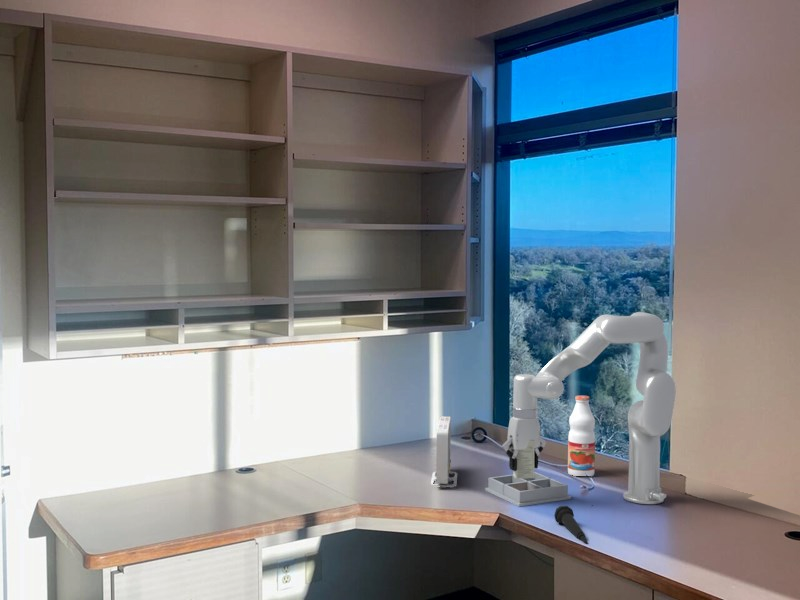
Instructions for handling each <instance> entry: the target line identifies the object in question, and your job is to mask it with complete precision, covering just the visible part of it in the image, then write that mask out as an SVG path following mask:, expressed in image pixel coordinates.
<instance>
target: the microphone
mask: <svg viewBox="0 0 800 600" xmlns="http://www.w3.org/2000/svg"><path fill="white" fill-rule="evenodd" d="M573 511H574V510H573V509H572V508H571V507H569V506H568V505H560V506H558V507H557V508H556V509H555V511H554V515H553V516H554V520H555V522H556V523H558V524H559V525H564V526H565V527H566V529H567V530H568V531H570V532H571V533H572V534H573V535H574V536H575V538H577V539H578V540H579V541H582V542H583V543H584V544H588V540H587V538H586V534H585V532H584V531H583V530H582V527H580V525H579V523H578V522H577V521H576V519H575V518H574V516H575V515H574V512H573Z"/></svg>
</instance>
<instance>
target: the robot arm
mask: <svg viewBox="0 0 800 600" xmlns="http://www.w3.org/2000/svg"><path fill="white" fill-rule="evenodd" d="M664 331H665V324H664V322H663V320H662V319H661V317H659V316H658V315H655V314H653V313H648V312H643V311H637V312H636V311H635V312H634V313H632V314H630V315H613V314H606V313H605V314H601V315H599V316H597V317H596V319H594V320H593V321H592V323H591V324H589V326H587V327H586V328H585V329H584V331H583V332H581V334H579V336H578V337H577V338H576V339H575V340H573V342H572V343H571V344H570V345H569V346H567V347H565V348H564V349H563V350H562V351H561V352H559V353H558V354H556V355H555V356H554V357H553V358H552V359H551V360H549V361H548V363H547V364H546V365H544V367H543V368H541V370H540V371H539V372H538V373H537V374H536V375H533V374H529V373H524V374H523V373H521V374H520V373H519V374H516V375H515V376H514V378H513V390H512V391H513V393H512V394H513V397H512V401H513V402H512V405H513V406H512V417H510V420H509V423H508V427H507V437H506V438H507V440H506V441H504V442H503V444H502V445H501V448H502V450H503V451H504V453H505V454H506V456H508V458H509V465H508V467H509V469H510V470H511V471H517V458H516V455H517V453H518V451H519V450H524V449H526V448H527V446H528V443H529V441H531V440H534V469H538V468H539V466H538V465H539V457H540V456H541V453H542V451H543V450H544V448H545V446H546V445H547V441H546V440H544V438H543V437H541V427H540V426H541V425H540V420H539V417H538V414H539V413H540V411H541V410H540V409H539V408H538V399H545V400H556V399H558V398H560V397H561V396H562V395H563V393H564V389H565V387H564V383H563V382H562V381H564V379H566V378H567V377H568V376H569V375H570V374H572V373H573V372H575V371H576V370H578V369H582V368H584V367H587V366H588V365H590V364H591V363H592V362H594V361H595V359H597V358H598V356H599V355H600V354H602V352H603V351H604V350H605V349H606V348H607V347H608V346H609V345H610V344H635V343H636V344H639V348H640V349H639V352H640V353H639V361H638V368H637V373H636V379H635V387H636V390H637V391H638V393H640V394H641V395H642V396H643V400H642V399H641V400H638V401H635V402H634V403H632V404H631V406H630V407H629V409H628V412H627V425H628V427H627V428H628V432H629V433H628V435H629V436H628V438H629V441H628V442H629V443H628V444H629V445H628V446H629V450H628V487H627V488H628V489H627V491H624V492H623V495H622V497H623V499H624V500H626V501H628V502H631V503H635V504H641V505H656V504H661V503H663V502H665V499H666V498H667V494H666V493H663V492H662V487H660V475H661V473H660V468H661V467H660V465H661V461H660V460H661V436H664V435H665V434H666V433H667V432H668V431H669V429H670V428H671V424H672V420H673V419H672V418H673V415H674V414H673V413H674V406H675V401H676V391H677V390H676V389H677V387H676V382H675V381H674V378H673V377H672V376H671V375H670V374H669V373H667V368H668V357H669V345H668V341H667V337H666V335H665V333H664ZM509 448H510V449H509Z"/></svg>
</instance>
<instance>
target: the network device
mask: <svg viewBox="0 0 800 600" xmlns="http://www.w3.org/2000/svg"><path fill="white" fill-rule="evenodd" d="M451 423H452V421H451V416H443V415H442V416H440V417H439V420H438V424H437V428H436V465H435V466H436V471H433V472H432V474H431V480H430V486H431V485H433V486H440V487H439V488H446V487H450V488H454V486H455V487H457V482H458V481H457V480H458V472H456V471H451V470H450V469H451V463H452V459H451V439H452V438H451V436H452V435H451V431H452V430H451V426H452V424H451ZM449 473H450V474H449ZM454 474H455V475H454ZM450 475H453V477H452V476H451V477H450ZM434 480H436V481H434ZM452 481H454V482H453V484H449V482H452ZM435 482H436V483H435ZM433 483H434V484H433ZM433 486H432V487H433Z"/></svg>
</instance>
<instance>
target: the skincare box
mask: <svg viewBox="0 0 800 600" xmlns="http://www.w3.org/2000/svg"><path fill="white" fill-rule="evenodd" d="M516 458H517V471H513V470H512V471H513V474H512V475H514V477H515V478H534V472H535V468H534V440H531V441H529V443H528V446H527V448H526V449H524V450H519V451H518V453H517V455H516Z"/></svg>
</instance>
